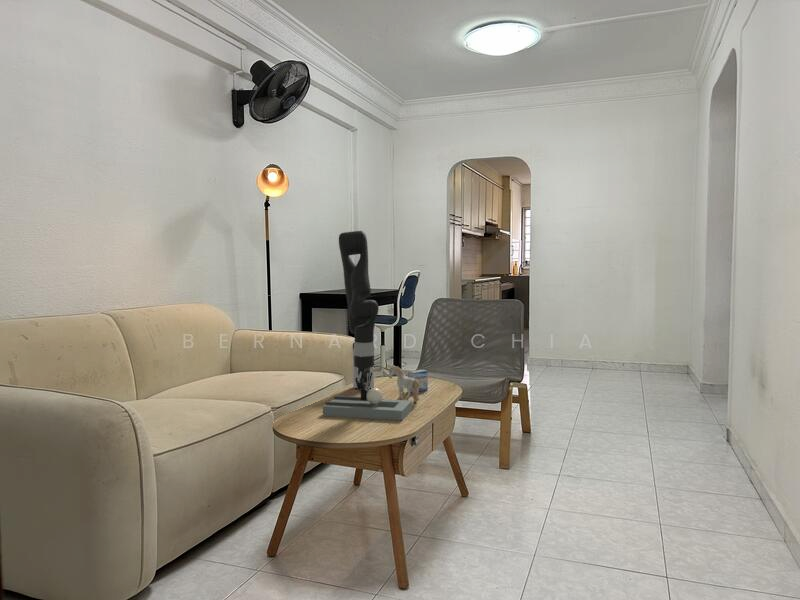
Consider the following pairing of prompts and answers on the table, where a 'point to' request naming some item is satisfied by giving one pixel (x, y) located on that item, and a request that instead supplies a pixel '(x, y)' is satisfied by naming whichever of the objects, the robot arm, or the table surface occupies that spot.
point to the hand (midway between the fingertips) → (364, 399)
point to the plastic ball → (374, 395)
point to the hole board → (367, 408)
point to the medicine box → (420, 378)
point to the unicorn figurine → (404, 383)
